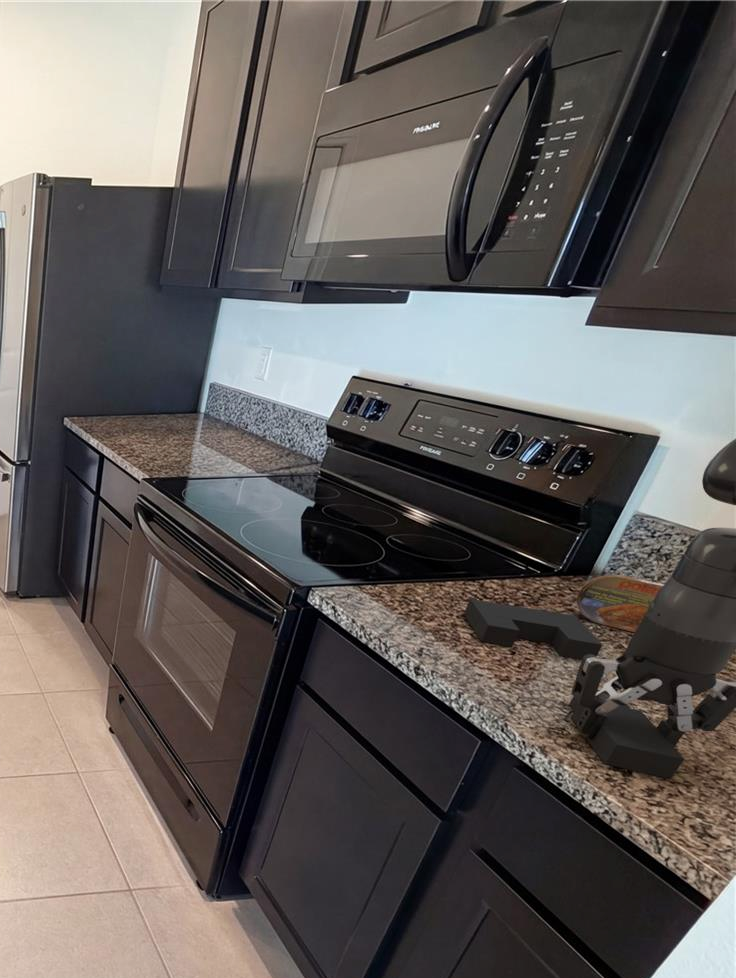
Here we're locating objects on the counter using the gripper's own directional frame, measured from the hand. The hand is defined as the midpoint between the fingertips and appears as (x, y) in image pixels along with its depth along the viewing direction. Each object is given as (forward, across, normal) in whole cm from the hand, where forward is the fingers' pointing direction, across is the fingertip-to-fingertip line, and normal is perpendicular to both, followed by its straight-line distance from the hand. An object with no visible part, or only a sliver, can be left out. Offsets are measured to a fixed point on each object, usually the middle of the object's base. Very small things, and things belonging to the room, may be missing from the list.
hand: (620, 742), depth 80 cm
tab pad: (+1, 0, +2) cm, 2 cm away
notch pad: (+1, -1, +29) cm, 29 cm away
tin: (+1, +16, +40) cm, 43 cm away
